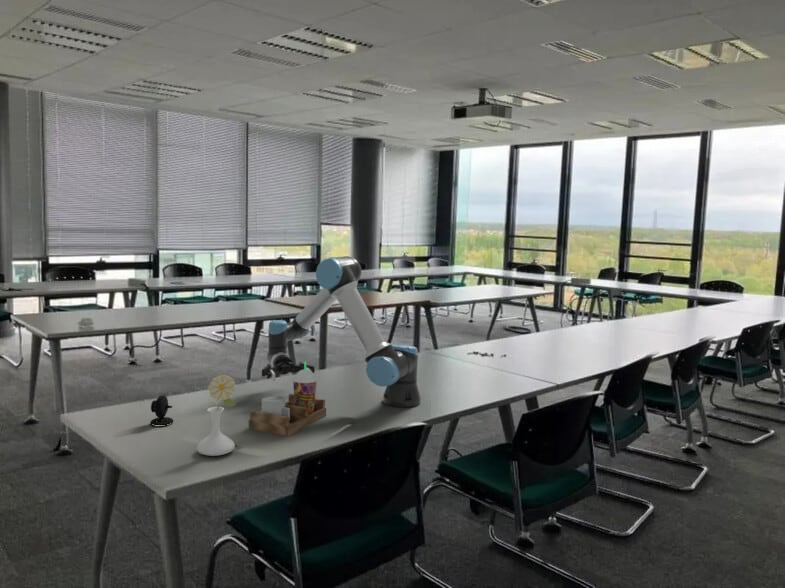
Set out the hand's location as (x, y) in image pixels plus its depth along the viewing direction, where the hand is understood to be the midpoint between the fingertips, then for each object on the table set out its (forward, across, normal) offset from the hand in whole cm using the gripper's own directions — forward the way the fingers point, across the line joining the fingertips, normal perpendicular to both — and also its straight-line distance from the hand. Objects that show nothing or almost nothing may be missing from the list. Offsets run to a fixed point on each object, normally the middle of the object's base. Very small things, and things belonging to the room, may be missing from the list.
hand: (292, 376), depth 231 cm
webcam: (-1, +46, -14) cm, 48 cm away
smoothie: (+10, -2, -13) cm, 16 cm away
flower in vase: (+32, +30, -14) cm, 46 cm away
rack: (+14, +4, -14) cm, 20 cm away
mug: (+17, +9, -13) cm, 23 cm away
